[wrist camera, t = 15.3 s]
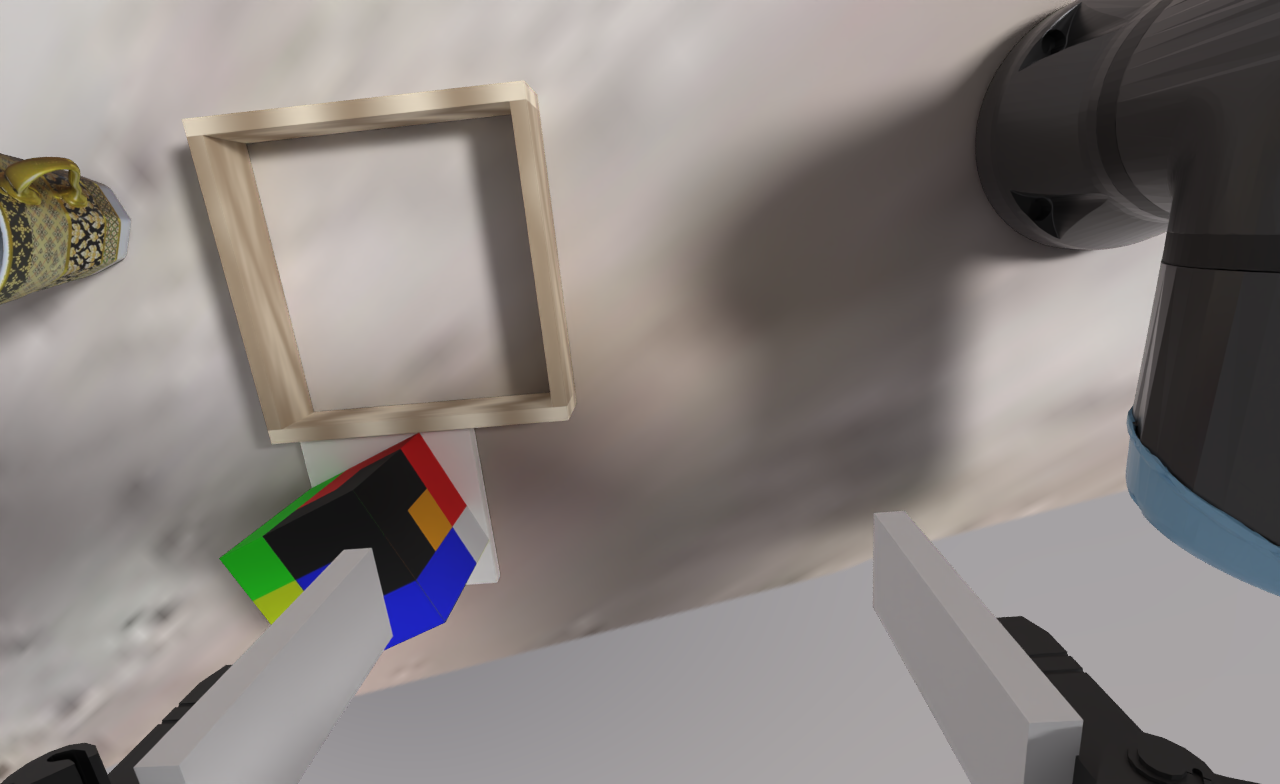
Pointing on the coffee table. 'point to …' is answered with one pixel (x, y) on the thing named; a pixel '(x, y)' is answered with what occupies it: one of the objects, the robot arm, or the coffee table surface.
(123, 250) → the ceramic cup
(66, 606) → the coffee table surface
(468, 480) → the pad
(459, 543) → the puzzle toy
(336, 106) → the bin
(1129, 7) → the robot arm
